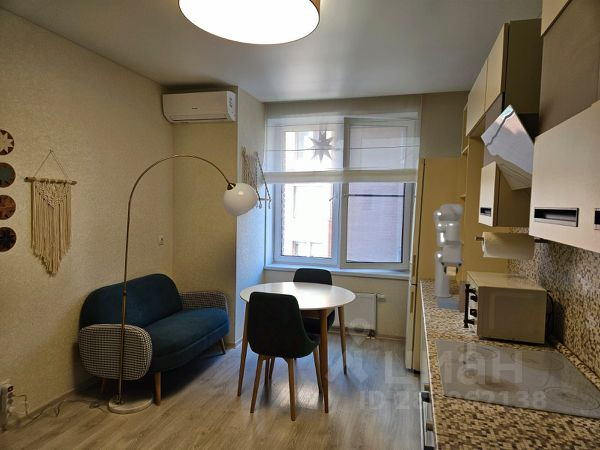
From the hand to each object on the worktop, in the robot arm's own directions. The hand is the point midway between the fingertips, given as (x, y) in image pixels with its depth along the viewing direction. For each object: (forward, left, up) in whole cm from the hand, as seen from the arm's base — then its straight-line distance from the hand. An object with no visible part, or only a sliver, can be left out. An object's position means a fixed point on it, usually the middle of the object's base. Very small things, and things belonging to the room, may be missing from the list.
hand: (450, 273), depth 218 cm
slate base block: (-11, 0, -23) cm, 25 cm away
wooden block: (-2, +10, -23) cm, 25 cm away
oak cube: (0, 0, -1) cm, 1 cm away
